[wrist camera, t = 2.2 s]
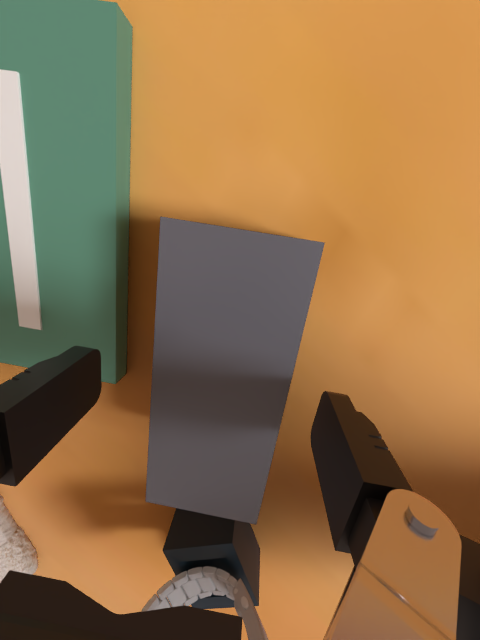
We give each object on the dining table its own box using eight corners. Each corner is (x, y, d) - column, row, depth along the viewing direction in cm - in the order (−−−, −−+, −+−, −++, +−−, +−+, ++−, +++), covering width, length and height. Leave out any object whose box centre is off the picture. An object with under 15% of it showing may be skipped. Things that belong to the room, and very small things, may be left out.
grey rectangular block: (198, 222, 13) (158, 216, 8) (303, 239, 13) (324, 242, 8) (178, 425, 17) (143, 501, 12) (259, 440, 16) (256, 524, 12)
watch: (153, 503, 19) (17, 830, 9) (263, 488, 18) (258, 856, 7) (181, 557, 21) (92, 891, 10) (284, 547, 19) (304, 923, 9)
